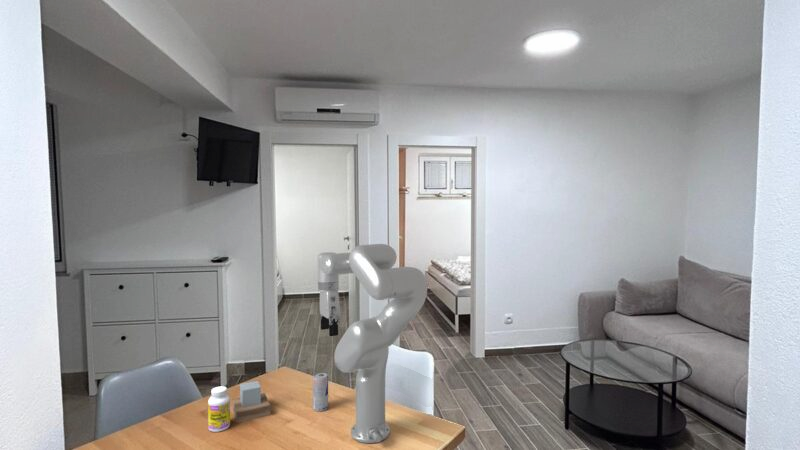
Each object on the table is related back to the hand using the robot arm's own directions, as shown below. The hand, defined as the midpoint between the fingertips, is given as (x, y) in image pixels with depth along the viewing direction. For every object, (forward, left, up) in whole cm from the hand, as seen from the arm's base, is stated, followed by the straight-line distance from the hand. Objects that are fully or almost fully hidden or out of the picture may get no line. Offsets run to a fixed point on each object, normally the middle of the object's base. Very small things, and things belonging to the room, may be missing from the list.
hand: (329, 332), depth 153 cm
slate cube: (+5, +27, -23) cm, 36 cm away
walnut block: (+5, +27, -27) cm, 39 cm away
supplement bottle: (-1, +38, -27) cm, 46 cm away
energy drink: (-3, +4, -27) cm, 27 cm away
